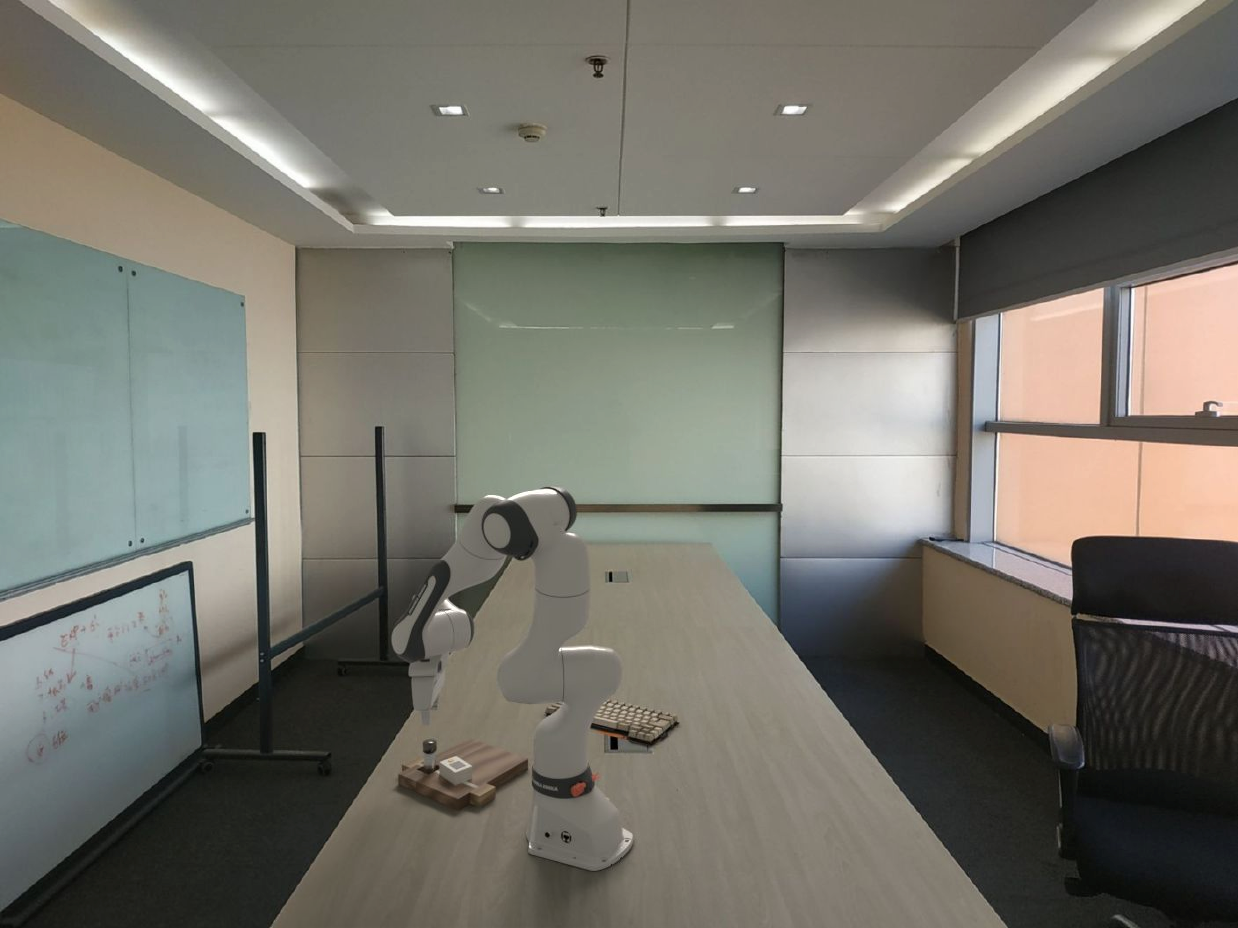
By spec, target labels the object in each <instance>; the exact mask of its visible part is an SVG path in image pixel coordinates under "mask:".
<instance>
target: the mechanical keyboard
mask: <svg viewBox="0 0 1238 928" xmlns="http://www.w3.org/2000/svg"><path fill="white" fill-rule="evenodd" d="M562 704H563V703H562V702H556V703H551V705H550V706H547V707H546V709H545V712H544V714H547V715H548V716H550V715H551V714H553V713H555V712H556V711H557V710H558V709H559V708H560V707H561V706H562ZM662 711H663V710H660V709H657V710H655V709H653V708H647V707H645V706H640V705H638V704H637V705H636V704H634V705H633V704H632V703H626V702H623V701H620V702H618V700H612V699H610V698H609V699H608V700H607V701H606V702H605V703H604V704H603V705H602V706H601V707H600V709H599V710H598V712H597V713H596V715H595V717H594V719H593V721H592V724H591V727H590V729H592V730H594V731H596V732H598V734H599V733H600V734H603V735H606V736H609V737H614V738H617V739H621V740H626V741H629V742H633V743H634V742H635V743H636V744H641V745H646V746H649V747H654V746H655V745H656V744H657V743H658V742H659V741H661V740H662V739H665V738H667V737H668V736H669V733H670V732H671V731H672V730H673V729H674V728H676V726H679V724H680V722H679V717H678V714H677V713H670V712H667V711H664V712H662Z"/></svg>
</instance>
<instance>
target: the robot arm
mask: <svg viewBox="0 0 1238 928" xmlns="http://www.w3.org/2000/svg"><path fill="white" fill-rule="evenodd" d="M577 516H578V509H577V505H576V501H575V499H574V497H573V496H572V494H571V493H569V492H568V491H567V490H566V489H564V488H563V487H559V486H544V487H541V488H537V489H533V490H530V491H522V492H519V493H517V494H514V495H511V496H510V497H507V498H506V497H504V496H501V495H497V494H496V495H495V494H488V495H484V496H481V497H480V498H479V499H478V500H477V501H476V502H475V503H474V505H473V506H472V508H471V509H470V511H469V513H468V514H467V516H466V518H465V520H464V522H463V524H462V526H461V529H460V531H459V534H458V535H457V538H456V540H455V541H454V543H453V544H452V546H451V547H450V548H449V550H448V551H447V552H446V553H445V555H444V556H443V557H442V558H441V559H439V560H438V561H436V563H435V564H434V565H433V566H431V568H430V569H429V570H428V572H427V573H426V576H425V577H424V578H423V581H422V582H421V584H420V585H419V588H418V589H417V591H416V593H415V594H414V595H413V596H412V600H411V601H410V603H409V605H408V607H407V609H406V610H405V612H404V613H403V614H402V615H401V616H400V617H399V619H398V620H397V621H396V623H395V624H394V626H393V628H392V631H391V635H390V644H391V647H392V651H393V653H394V654H395V655H396V656H397V657H399V658H400V659H402V660H403V661H405V662H407V663H409V665H408V676H409V677H411V697H412V705H413V708H414V711H416V712H420V714H421V724H422V726H426V725H427V726H429V725H430V724H431V722H432V714H431V711H437V710H438V708H440V707H439V704H440V703H439V702H440V700H439V699H440V694H441V690H442V689H443V686H444V685H445V682H446V670H445V668H447V667H448V666H449V665H450V653H455V652H458V651H460V650H461V651H462V650H464V649H467V648H468V647H469V646H470V645H471V643H472V641H473V639H474V635H475V623H474V618H473V616H471V614H470V613H469V612H468V611H466V610H465V609H463V608H459V607H458V606H456V605H455V604H454V603H453V602H451V601H450V600H449V597H451V596H453V595H454V594H456V593H458V592H460V591H461V592H462V591H463V590H465V589H468V588H471V587H473V586H476V585H479V584H482V583H484V582H486V581H489V580H490V579H492V578H494V576H496V574H497V573H498V572H499V571H500V570H501V568H502V567H503V565H504V563H505V561H506V560H507V559H506V558H507V556H510V557H512V558H513V559H515V560H517V561H520V562H523V561H527V560H528V559H531V560H532V562H533V565H534V603H533V614H532V619H531V624H530V627H529V629H528V632H527V633H526V634H525V635H524V637H523V638H522V640H521V642H519V644H518V645H517V646H515V647H514V649H512V650H510V651H509V652H508V653H506V654H505V655H504V657H503V658H502V659H501V661H500V663H499V664H498V667H497V671H496V683H497V687H498V690H499V692H500V694H501V695H502V697H503V698H504V699H505V700H506V701H507V702H511V703H517V704H525V705H541V704H556V702H562V703H563V704H562V706H561V707H560V708H559V709H558V710H557V711H556V712H555V713H553V714H551V715H548V716H546V717H544V719H542V720H541V721H540V723H538V725H537V726H536V729H535V731H534V734H533V756H534V757H533V764H532V767H531V786H532V788H533V789H532V790H533V791H532V792H533V794H532V801H531V802H532V803H531V810H530V815H529V816H530V817H529V821H528V825H527V828H526V830H525V836H526V840H527V841H528V850H527V852H528V854H530V855H533V856H536V857H540V858H544V859H547V860H551V861H554V862H559V863H562V864H566V865H570V866H573V867H577V868H580V869H583V870H588V871H591V872H593V871H594V872H596V871H600V870H604V869H607V868H608V867H611V866H612V865H614V864H615V863H617V862H618V861H619V860H621V859H622V858H624V856H625V855H626V854H627V853H628V852H629V851H630V850H631V848H632V846H633V844H634V835H633V834H634V833H632V832H630V831H629V830H627V829H626V828H624V827H623V824H622V818H621V817H622V816H621V814H620V811H619V809H618V808H617V807H616V805H614V803H612V801H611V799H610V798H608V797H606V795H605V794H604V793H603V792H602V791H601V790H600V789H599V787H598V786H596V783H595V781H596V780H597V779H598V778H599V776H598V775H599V772H595V774H593V773H592V769H591V766H590V763H589V762H588V761H589V760H588V758H589V756H588V755H589V753H588V751H589V738H590V730H591V728H590V727H591V724H592V721H593V719H594V717H595V715H596V713H597V712H598V710H599V709H600V707H601V706H602V705H603V704H604V703H605V702H606V701H607V700H608V699H610V698H611V697H612V696H614V695H615V694H616V693H617V692H618V690H620V687H621V685H622V683H623V679H624V665H623V662H622V660H621V658H620V656H619V654H618V653H617V652H616V651H615V650H614V649H613V648H612V647H607V646H601V645H593V644H588V645H587V644H586V645H585V644H584V645H572V646H571V645H568V646H567V645H566V646H563V645H564V644H566V643H567V642H568V641H569V640H571V639H574V637H576V636H578V635H580V634H581V633H582V632H583V631H584V629H586V627H587V626H588V623H589V620H590V611H591V610H590V608H591V607H590V606H591V567H590V558H589V556H590V555H589V552H588V545H587V543H586V541H585V540H584V538H583V537H581V536H580V534H577V533H574V532H572V531H569V530H570V529H571V528H572V527H573V526H574V525H575V522H576V520H577ZM621 857H622V858H621ZM620 858H621V859H620ZM611 864H612V865H611Z"/></svg>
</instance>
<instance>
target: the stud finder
mask: <svg viewBox="0 0 1238 928" xmlns="http://www.w3.org/2000/svg"><path fill="white" fill-rule="evenodd" d="M439 774H440V775H441V776H442V777H444V778H445V779H447V780H448V781H450V782H451V783H453V784H454V785H458V784H460V783H463V782H465V781H468V780H470V779H472V766H471V765H470V764H468V763H467V762H465V761H463V760H462V759H460V758H459V757H457V756H455V757H452V758H449V759H446V760H443V761H441V762H439Z"/></svg>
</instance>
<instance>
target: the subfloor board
mask: <svg viewBox="0 0 1238 928" xmlns="http://www.w3.org/2000/svg"><path fill="white" fill-rule="evenodd" d="M455 756H457V757H459V758H460V759H462V760H463V761H465V762H467V763H468V764H470V765H471V766H472V779H470V780H468V781H465V782H463V783H460V784H458V785H454V784H453V783H451V782H450V781H448V780H447V779H445V778H444V777H442V776H441V775H440V774H439V762H441V761H443V760H446V759H449V758H452V757H455ZM528 769H529V759H528V758H526V757H524V756H520V755H518V754H515V753H512V752H510V751H507V750H503V749H501V748H498V747H496V746H493V745H489V744H487V743H484V742H481V741H478V740H476V739H474V738H468V739H466V740H464V741H462V742H460V743H458V744H456V745H453V746H452V747H449V748H448V749H446V750H444V751H442V752H440V753H438V754H437V753H436V771H435V772H433V773H431V774H426V773H424V757H423V758H422V757H420V756H417V757H415V758H413V759H410V760H408V761H406V762H404V763H402V764H401V772H399V773H398V774H397V776H398V777H397V778H398V779H397V782H398V785H399V786H402V787H404V788H407V789H409V790H411V791H414V792H415V793H418V794H421V795H422V796H425V797H428V798H430V799H432V800H434V801H437V802H438V803H441V804H444V805H446V806H448V807H450V808H452V809H455V810H457V811H460V810H461V809H462V808H464V807H466V806H467V805H470V804H471V805H473V806H476V807H479V808H481V807H482V806H484V805H486V804H487V803H490V801H492V800H494V799H496V788H499V787H500V786H501V785H503V784H506V782H508V781H509V780H512V779H513V778H515V777H517V776H518V775H520V774H522V773H524V772H525V771H526V770H528Z"/></svg>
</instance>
